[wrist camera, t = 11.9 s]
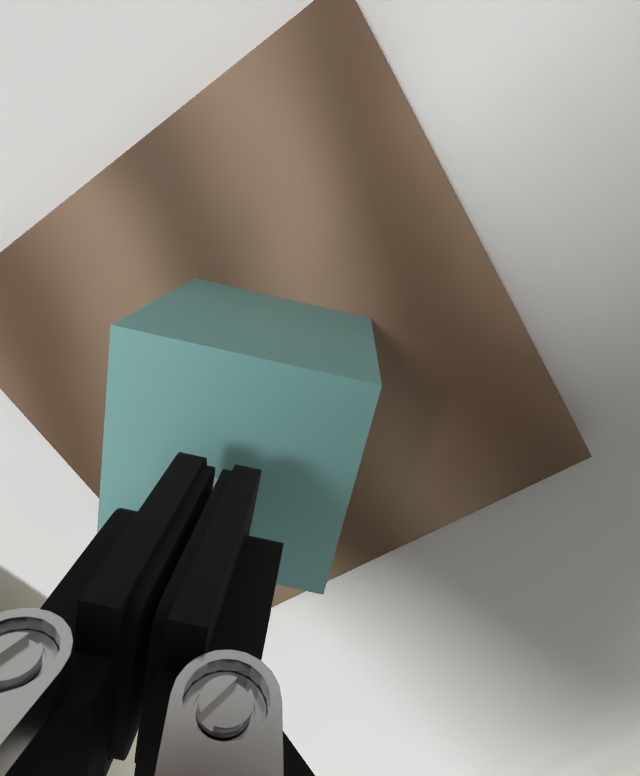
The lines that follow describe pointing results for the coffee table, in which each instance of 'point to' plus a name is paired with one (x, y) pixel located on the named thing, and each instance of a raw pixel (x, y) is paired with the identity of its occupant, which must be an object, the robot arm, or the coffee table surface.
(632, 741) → the coffee table surface
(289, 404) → the teal cube
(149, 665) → the robot arm
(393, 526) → the plate
